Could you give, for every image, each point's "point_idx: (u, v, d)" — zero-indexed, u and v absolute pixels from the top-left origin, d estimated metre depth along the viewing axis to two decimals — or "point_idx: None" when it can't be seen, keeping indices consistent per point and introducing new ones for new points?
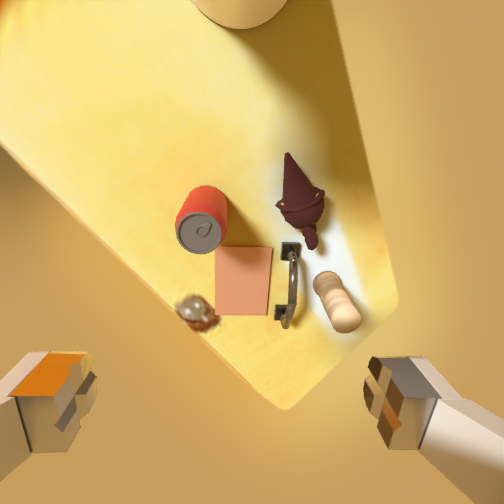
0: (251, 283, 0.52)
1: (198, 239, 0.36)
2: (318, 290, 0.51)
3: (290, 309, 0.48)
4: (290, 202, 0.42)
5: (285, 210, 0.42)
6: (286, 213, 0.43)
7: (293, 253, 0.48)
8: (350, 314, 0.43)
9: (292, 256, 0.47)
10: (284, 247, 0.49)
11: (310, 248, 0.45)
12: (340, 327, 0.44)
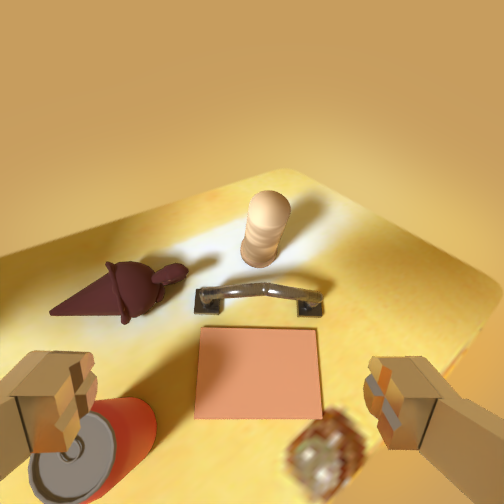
0: (258, 355, 0.34)
1: (86, 457, 0.20)
2: (259, 257, 0.37)
3: (274, 290, 0.31)
4: (111, 303, 0.31)
5: (120, 309, 0.31)
6: (128, 307, 0.31)
7: None
8: (257, 204, 0.31)
9: None
10: (199, 309, 0.36)
11: (182, 271, 0.33)
12: (280, 214, 0.30)
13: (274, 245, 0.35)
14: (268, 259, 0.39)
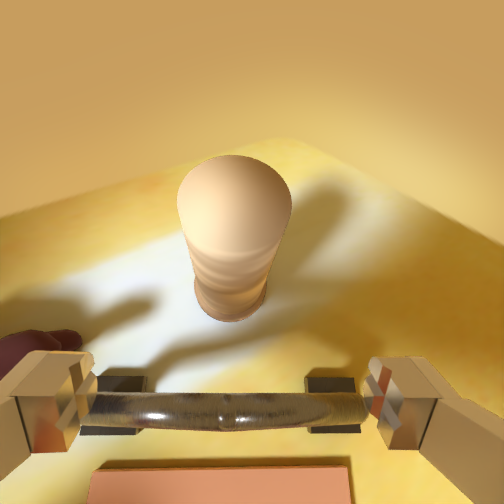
0: None
1: None
2: (228, 307, 0.18)
3: (251, 419, 0.12)
4: None
5: None
6: None
7: None
8: (199, 191, 0.11)
9: None
10: (92, 427, 0.16)
11: None
12: (263, 218, 0.11)
13: (255, 287, 0.15)
14: (247, 307, 0.19)
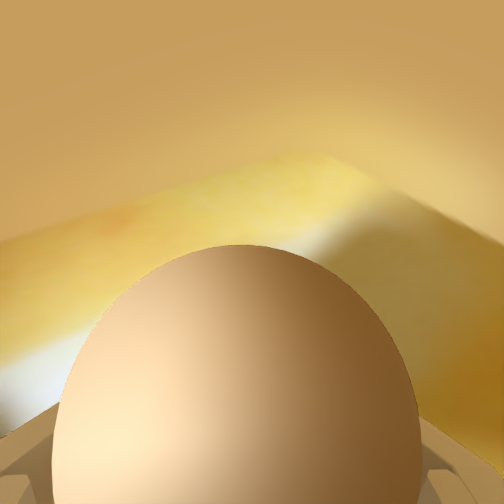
0: None
1: None
2: None
3: None
4: None
5: None
6: None
7: None
8: (135, 379, 0.04)
9: None
10: None
11: None
12: (339, 483, 0.03)
13: None
14: None
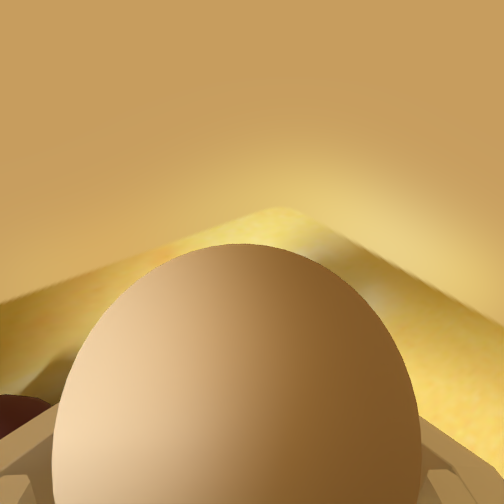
0: None
1: None
2: None
3: None
4: None
5: None
6: None
7: None
8: (135, 378, 0.04)
9: None
10: None
11: None
12: (339, 481, 0.03)
13: None
14: None
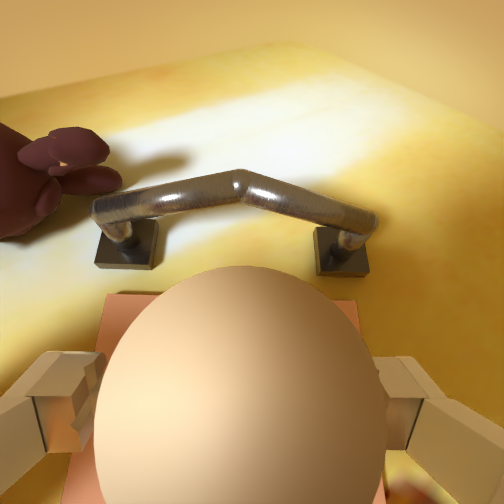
0: None
1: None
2: None
3: (265, 187, 0.12)
4: None
5: None
6: None
7: None
8: (157, 378, 0.04)
9: None
10: (106, 257, 0.17)
11: (88, 142, 0.14)
12: (320, 459, 0.04)
13: None
14: None
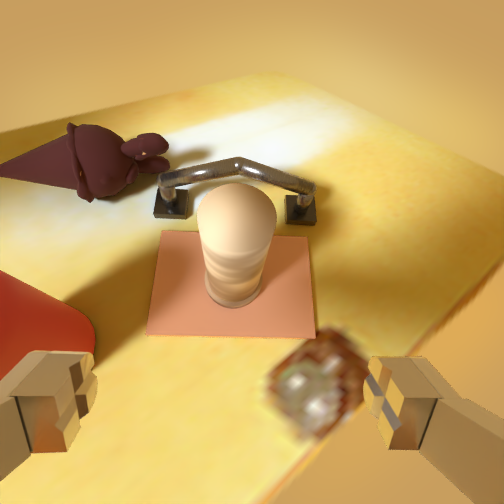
0: None
1: None
2: (231, 295, 0.23)
3: (251, 166, 0.24)
4: (66, 164, 0.25)
5: (74, 170, 0.24)
6: (87, 173, 0.25)
7: None
8: (212, 209, 0.16)
9: (158, 184, 0.26)
10: (160, 210, 0.28)
11: (159, 141, 0.26)
12: (256, 228, 0.16)
13: (253, 278, 0.20)
14: (247, 296, 0.24)
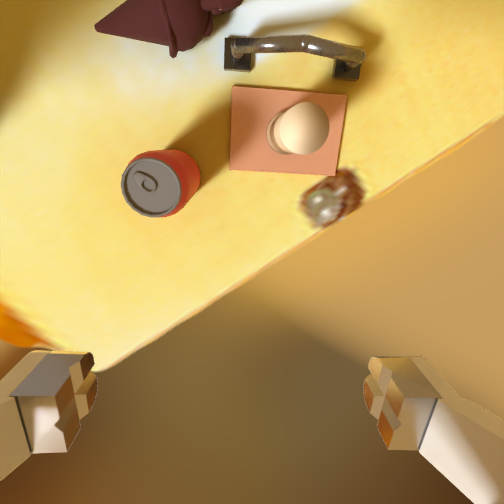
0: None
1: (160, 189, 0.28)
2: None
3: (315, 46, 0.28)
4: (159, 28, 0.29)
5: (169, 37, 0.29)
6: (177, 37, 0.29)
7: None
8: (290, 124, 0.26)
9: (231, 48, 0.31)
10: (229, 65, 0.34)
11: None
12: (316, 139, 0.27)
13: None
14: None
